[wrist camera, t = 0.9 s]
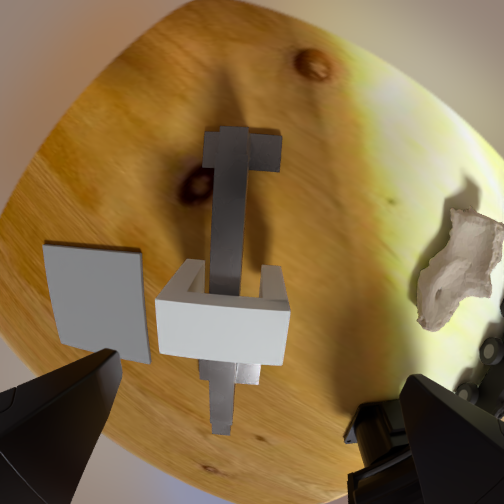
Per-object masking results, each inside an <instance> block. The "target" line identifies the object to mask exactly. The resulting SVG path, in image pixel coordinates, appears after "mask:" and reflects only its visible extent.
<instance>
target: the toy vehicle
mask: <svg viewBox="0 0 504 504" xmlns="http://www.w3.org/2000/svg"><path fill="white" fill-rule="evenodd" d="M500 309H501V314H502V316H503V317H504V299H503V302H502V304H501V308H500ZM480 359H481V361H482V362H483V363H484V364H486V365H492V366H491V368H490V369H489V371H488V373H487V374H486V376H485V378H484V379H483V381H482V382H481V384H480V385H479V387H477V386H476V385H475V384H473V383H467V384H462V385H461V386H460V387H459V388H458V389H457V391H456V393H455V394H456V395H458V396H460V397H461V398H463V399H465V400H467V401H468V402H470V403H472V404H473V405H475V406H477V407H479V408H480V409H482V410H484V411H486V412H487V413H489V414H491V415H493V416H494V417H496V418H497V419H501V418H502V417H503V416H504V343H503V341H502V340H501V339H499V338H488V339H486V340H485V341H484V343H483V345H482V347H481V349H480Z"/></svg>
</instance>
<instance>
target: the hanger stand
mask: <svg viewBox="0 0 504 504" xmlns="http://www.w3.org/2000/svg"><path fill="white" fill-rule="evenodd" d="M281 148H282V136H276V135H264V134H250V132H249V128H248V127H232V126H220V132H205V136H204V149H203V164H202V167H203V168H215V171H214V187H213V205H212V227H211V252H210V289H209V294H218V295H229V296H240V291H241V275H242V260H243V245H244V230H245V215H246V201H247V187H248V173H249V170H257V171H269V172H280V161H281ZM260 367H261V364H247V363H234V362H223V361H214V360H205V359H199V372H200V379H202V380H209V395H210V423H212V434H219V435H229V436H230V431H231V425H232V420H233V411H234V394H235V385H236V383H241V384H255V385H258V383H259V375H260Z"/></svg>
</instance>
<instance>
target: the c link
mask: <svg viewBox="0 0 504 504" xmlns="http://www.w3.org/2000/svg"><path fill="white" fill-rule="evenodd" d="M204 289H205V260H196V259H186V260H185V262H184V263H183V264H182V265H181V267H180V268H179V269H178V270H177V272H176V273H175V274H174V276H173V277H172V278H171V279H170V281H169V282H168V283H167V284H166V286H165V287H164V288H163V290H162V291H161V292H160V294H159V295H158V296H157V297H156V299H155V306H156V319H157V331H158V341H159V350H160V353H161V354H167V355H174V356H181V357H188V358H196V359H205V360H214V361H223V362H234V363H247V364H262V365H282V364H283V357H284V351H285V345H286V339H287V332H288V326H289V319H290V312H291V311H290V306H289V302H288V297H287V292H286V288H285V283H284V279H283V274H282V269H281V266H273V265H262V268H261V279H260V291H259V298H255V297H242V296H229V295H218V294H207V293H204Z"/></svg>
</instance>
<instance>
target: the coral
mask: <svg viewBox="0 0 504 504" xmlns="http://www.w3.org/2000/svg"><path fill="white" fill-rule="evenodd" d="M450 212H451V218H450V219H451V221H452V226H453V227H452V229H451V230H450V232H449V234H450V239H449V240H448V243H447V245H446V246H445V248H444V249H443V250H441V251H440V252H438V253H437V254H436V255H435V256H434V257H433V258H431V259H430V261H429V266H428V267H427V268H425V269H423V270H421V272H420V276H419V279H418V285H417V304H416V306H417V308H418V312H417V313H418V315H419V316H418V319H417V322H418V323H419V324H420V325H421V326H422V328H423V329H426V330H428V331H432V332H434V331H438V330H440V329H441V328H442V327H443V326H444V325H445V324H446V323H447V322H448V321H449V320H450V318H451V317H452V315H453V313H454V312H455V310H456V309H457V307H458V306H459V302H460V301H461V300H463V299H464V298H466V297H469V296H475V297H486V298H490V296H491V294H492V284H491V279H490V273H491V271H492V269H494V268H495V266H496V265H497V263H499V262H500V261H501V258H502V243H503V240H504V224H503V223H502V222H497V221H495V220H493V219H491V218H489V217H487V216H484V215H482V214H479V213H477V212H476V211H475V210H474V209H473V208H472V207H471V205H470V208H469V209H466V210H465V212H463V210H461V209H458V210H455V209H454V208H451V209H450Z"/></svg>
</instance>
